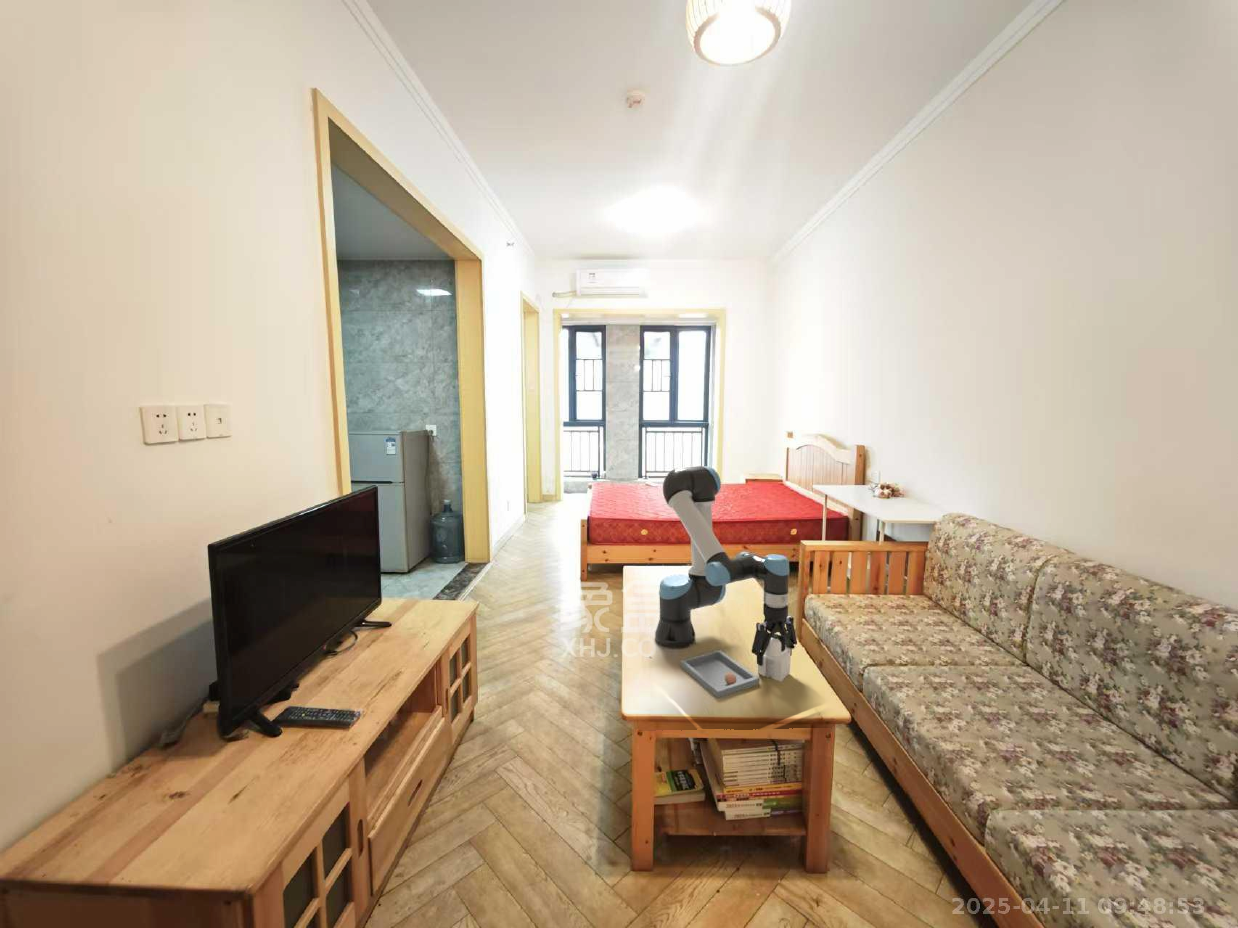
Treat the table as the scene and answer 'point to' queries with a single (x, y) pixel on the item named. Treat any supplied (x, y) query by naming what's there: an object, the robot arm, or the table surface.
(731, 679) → the ball
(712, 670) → the tray
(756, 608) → the table surface
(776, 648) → the container
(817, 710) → the table surface
